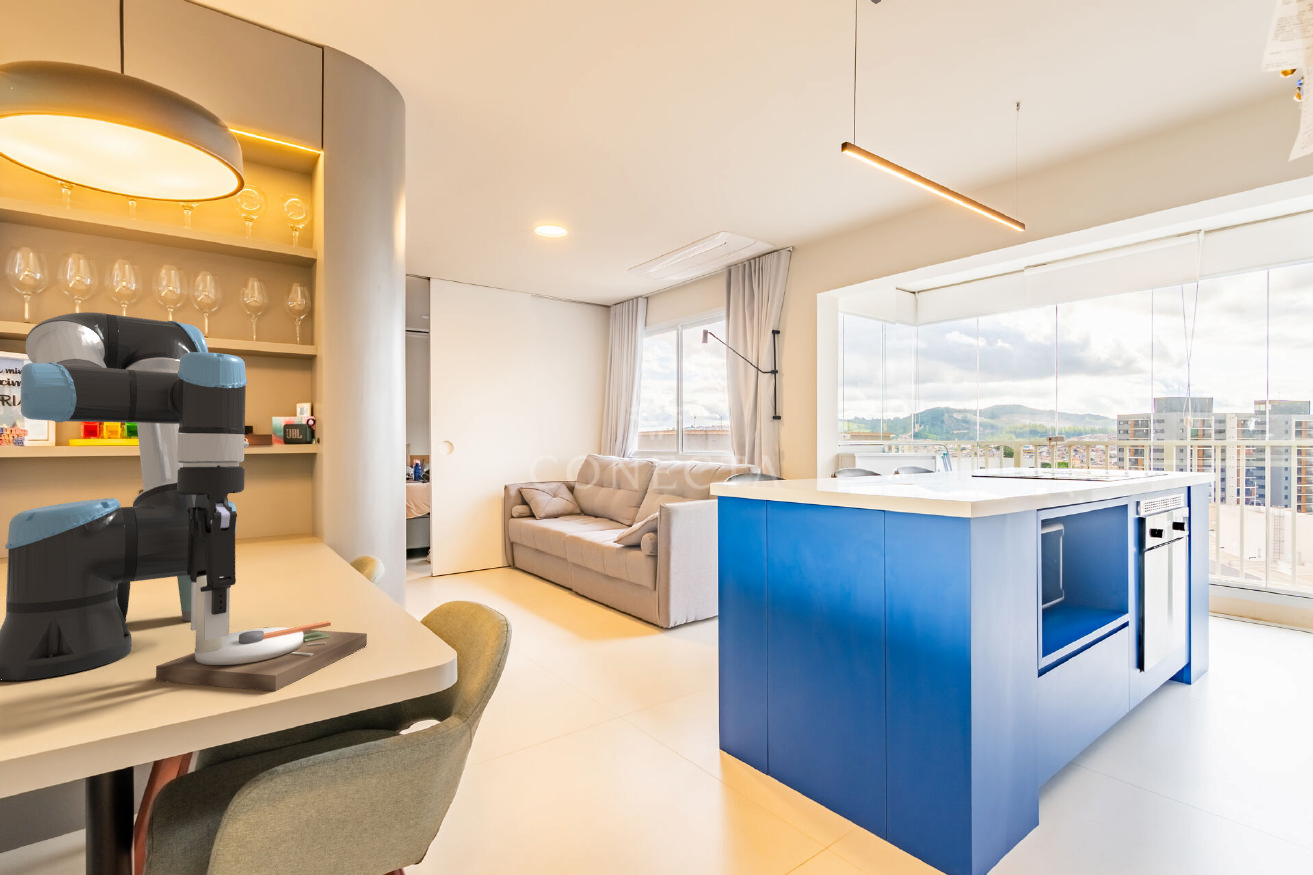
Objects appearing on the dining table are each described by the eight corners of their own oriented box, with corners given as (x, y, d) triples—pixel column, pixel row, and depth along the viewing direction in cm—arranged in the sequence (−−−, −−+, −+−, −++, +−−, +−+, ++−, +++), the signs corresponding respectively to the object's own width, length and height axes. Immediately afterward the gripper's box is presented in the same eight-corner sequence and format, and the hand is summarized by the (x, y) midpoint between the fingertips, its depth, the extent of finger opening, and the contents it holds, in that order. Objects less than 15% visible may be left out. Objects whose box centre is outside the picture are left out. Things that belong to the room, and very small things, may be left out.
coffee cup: (199, 624, 107) (200, 556, 107) (160, 621, 109) (161, 555, 109) (241, 612, 116) (242, 549, 116) (204, 609, 117) (205, 547, 118)
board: (155, 680, 81) (156, 664, 81) (265, 639, 99) (265, 625, 99) (275, 690, 78) (275, 673, 78) (366, 646, 96) (366, 632, 96)
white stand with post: (207, 672, 78) (208, 585, 78) (185, 649, 87) (186, 571, 87) (345, 641, 91) (346, 566, 91) (314, 624, 99) (315, 556, 100)
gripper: (265, 465, 81) (263, 639, 80) (224, 463, 93) (222, 614, 92) (196, 466, 75) (194, 654, 75) (162, 464, 87) (159, 625, 87)
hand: (209, 632), depth 83 cm, fingers open, 6 cm apart
